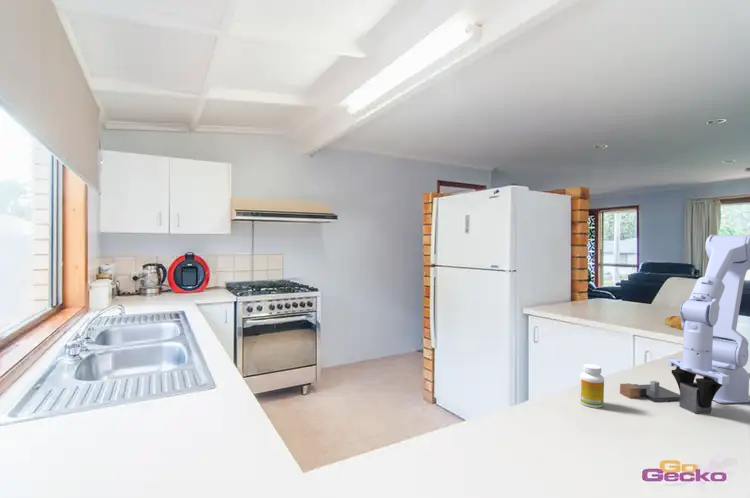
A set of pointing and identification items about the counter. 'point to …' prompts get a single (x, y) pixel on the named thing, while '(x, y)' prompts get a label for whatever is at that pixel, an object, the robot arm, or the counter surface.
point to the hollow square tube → (691, 398)
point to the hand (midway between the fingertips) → (695, 403)
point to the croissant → (674, 322)
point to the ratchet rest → (648, 392)
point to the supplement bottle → (591, 386)
